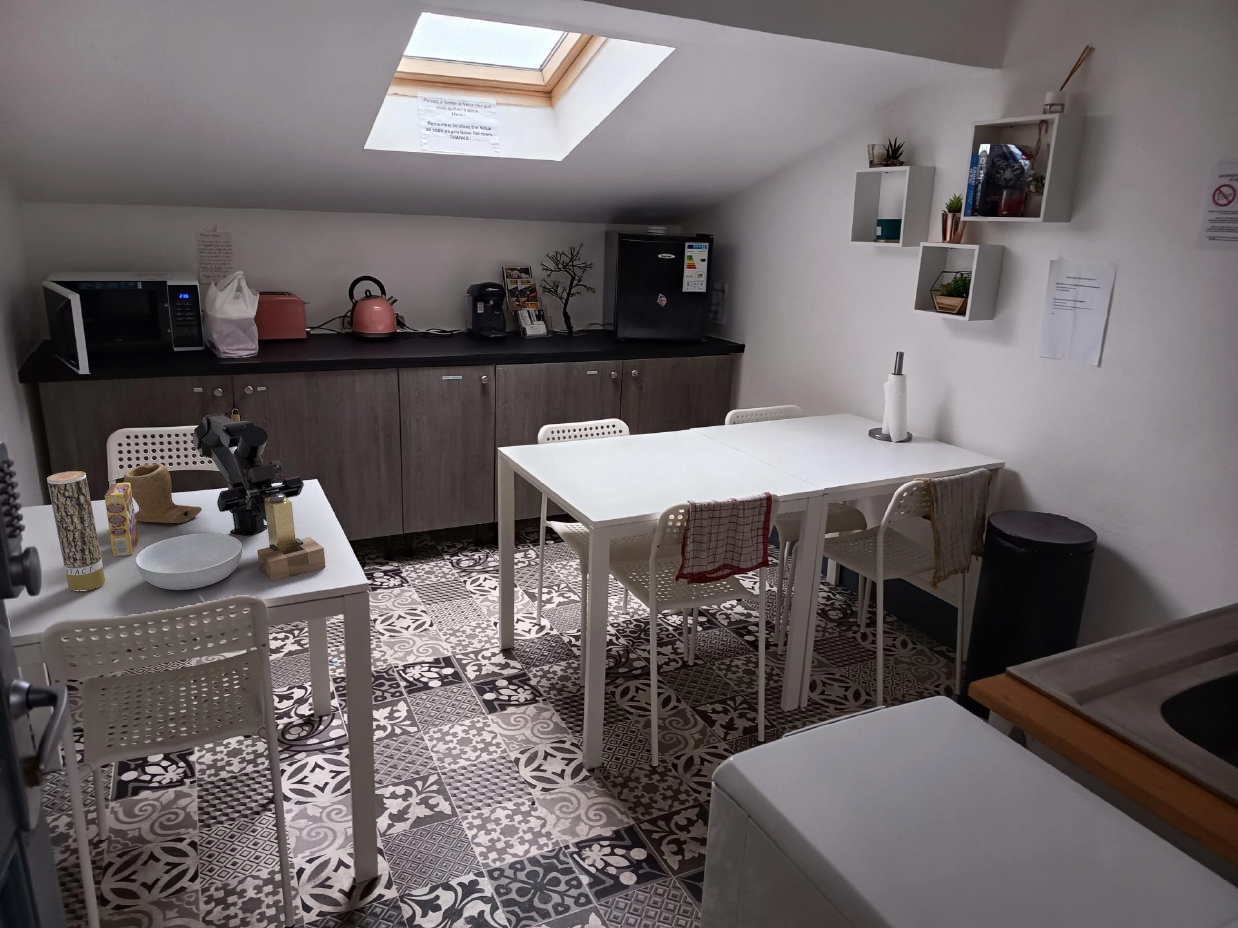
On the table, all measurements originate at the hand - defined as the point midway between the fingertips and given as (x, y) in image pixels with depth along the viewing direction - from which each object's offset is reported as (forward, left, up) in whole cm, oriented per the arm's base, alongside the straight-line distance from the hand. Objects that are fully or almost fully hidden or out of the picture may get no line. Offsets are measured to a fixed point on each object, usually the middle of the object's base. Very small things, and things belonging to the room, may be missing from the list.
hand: (273, 524), depth 196 cm
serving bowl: (-8, -17, -8) cm, 20 cm away
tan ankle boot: (-41, +8, -8) cm, 43 cm away
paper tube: (-27, -27, -8) cm, 39 cm away
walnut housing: (+8, -5, -8) cm, 12 cm away
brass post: (+4, -3, -7) cm, 9 cm away
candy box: (-35, -9, -8) cm, 37 cm away
